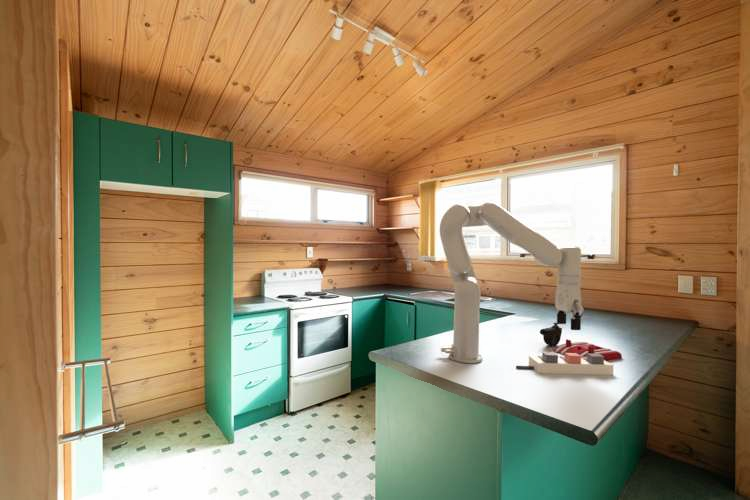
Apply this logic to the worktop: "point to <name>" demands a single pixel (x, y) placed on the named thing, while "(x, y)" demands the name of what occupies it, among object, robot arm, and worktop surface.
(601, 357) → the button
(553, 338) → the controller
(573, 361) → the button
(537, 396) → the worktop surface
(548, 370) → the button panel
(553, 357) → the button
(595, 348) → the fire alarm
